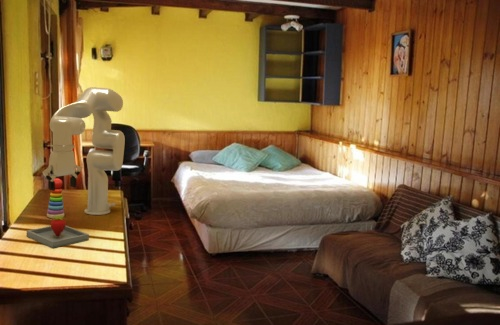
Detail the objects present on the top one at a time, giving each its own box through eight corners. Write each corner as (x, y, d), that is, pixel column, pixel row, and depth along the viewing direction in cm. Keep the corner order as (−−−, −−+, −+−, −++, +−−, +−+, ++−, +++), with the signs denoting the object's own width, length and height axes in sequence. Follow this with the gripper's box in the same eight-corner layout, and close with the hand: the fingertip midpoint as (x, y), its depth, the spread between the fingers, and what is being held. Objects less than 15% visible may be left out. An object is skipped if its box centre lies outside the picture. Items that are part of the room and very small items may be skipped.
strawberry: (65, 233, 203) (65, 210, 202) (65, 238, 196) (65, 215, 195) (50, 233, 201) (50, 210, 200) (50, 239, 194) (50, 215, 193)
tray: (61, 229, 211) (61, 223, 210) (88, 240, 199) (88, 234, 199) (26, 236, 198) (26, 230, 198) (53, 248, 186) (53, 242, 186)
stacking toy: (58, 219, 225) (58, 180, 222) (43, 217, 227) (43, 179, 224) (67, 215, 233) (68, 178, 230) (53, 213, 234) (53, 176, 232)
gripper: (75, 145, 207) (75, 184, 210) (37, 148, 194) (38, 189, 197) (86, 148, 203) (85, 187, 206) (48, 151, 189) (48, 193, 192)
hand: (62, 188), depth 201 cm, fingers open, 9 cm apart
